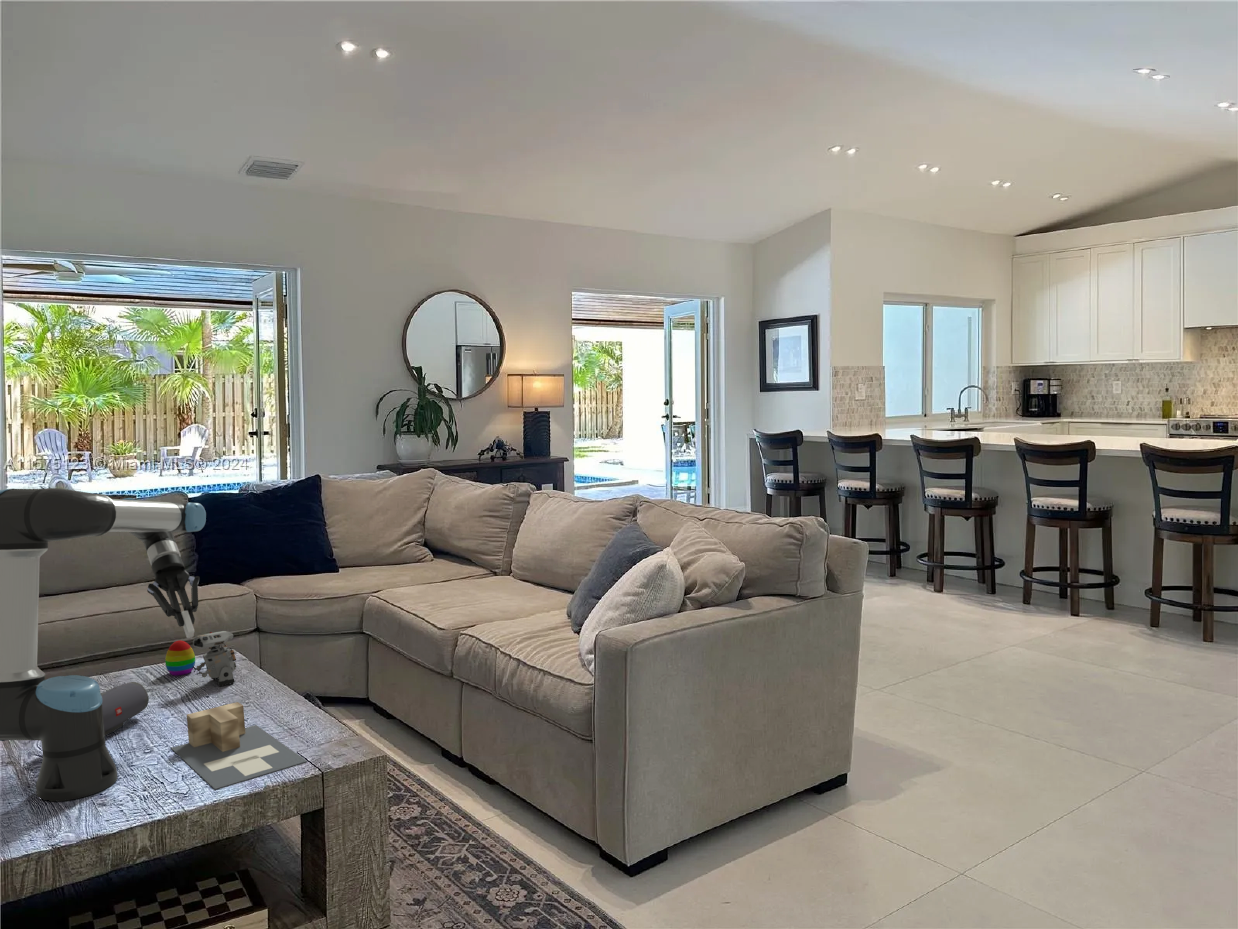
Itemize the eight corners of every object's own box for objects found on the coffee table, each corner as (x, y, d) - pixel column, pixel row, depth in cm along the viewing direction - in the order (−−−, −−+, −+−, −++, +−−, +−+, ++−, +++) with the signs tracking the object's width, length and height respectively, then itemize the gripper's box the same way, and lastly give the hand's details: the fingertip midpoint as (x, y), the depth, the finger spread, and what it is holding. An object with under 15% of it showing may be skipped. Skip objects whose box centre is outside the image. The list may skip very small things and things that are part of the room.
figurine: (190, 684, 268) (186, 633, 267) (232, 675, 275) (228, 626, 274) (198, 692, 261) (194, 640, 260) (240, 682, 268) (236, 632, 267)
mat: (215, 789, 195) (214, 788, 195) (171, 748, 219) (171, 747, 219) (307, 761, 208) (307, 761, 208) (256, 725, 232) (256, 725, 232)
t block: (204, 757, 213) (202, 727, 212) (188, 743, 222) (186, 714, 221) (257, 742, 221) (255, 713, 220) (239, 729, 230) (237, 702, 229)
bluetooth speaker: (86, 752, 220) (82, 711, 219) (52, 750, 221) (49, 709, 221) (152, 717, 242) (149, 680, 241) (121, 716, 244) (118, 679, 243)
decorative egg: (160, 677, 277) (157, 644, 276) (177, 668, 285) (175, 636, 284) (185, 677, 275) (182, 644, 274) (201, 669, 283) (199, 637, 282)
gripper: (189, 566, 252) (214, 637, 241) (137, 574, 244) (161, 648, 233) (194, 549, 248) (219, 621, 237) (141, 557, 239) (165, 631, 228)
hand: (190, 634), depth 235 cm, fingers closed
